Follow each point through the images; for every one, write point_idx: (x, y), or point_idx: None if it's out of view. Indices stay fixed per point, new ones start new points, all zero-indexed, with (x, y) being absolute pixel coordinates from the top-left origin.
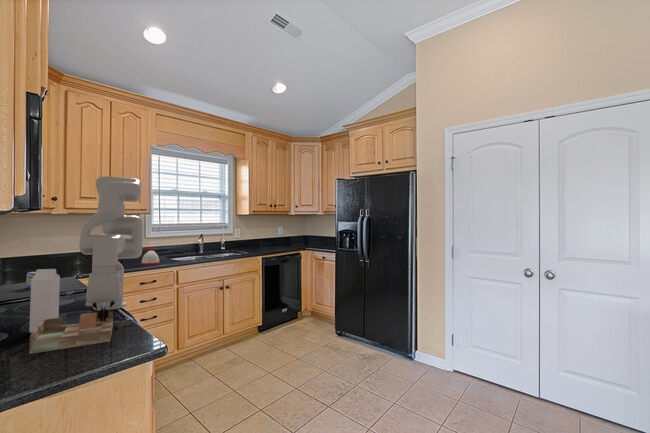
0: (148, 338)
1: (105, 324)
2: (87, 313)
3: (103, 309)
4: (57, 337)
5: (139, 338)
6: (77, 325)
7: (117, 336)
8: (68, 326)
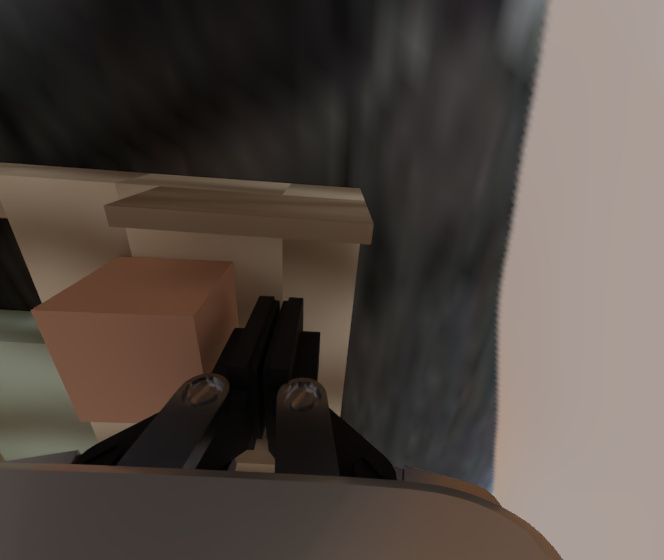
0: (478, 483)
1: (304, 328)
2: (98, 318)
3: (258, 370)
4: (75, 423)
5: (448, 469)
6: (93, 241)
7: (367, 407)
8: (25, 232)
